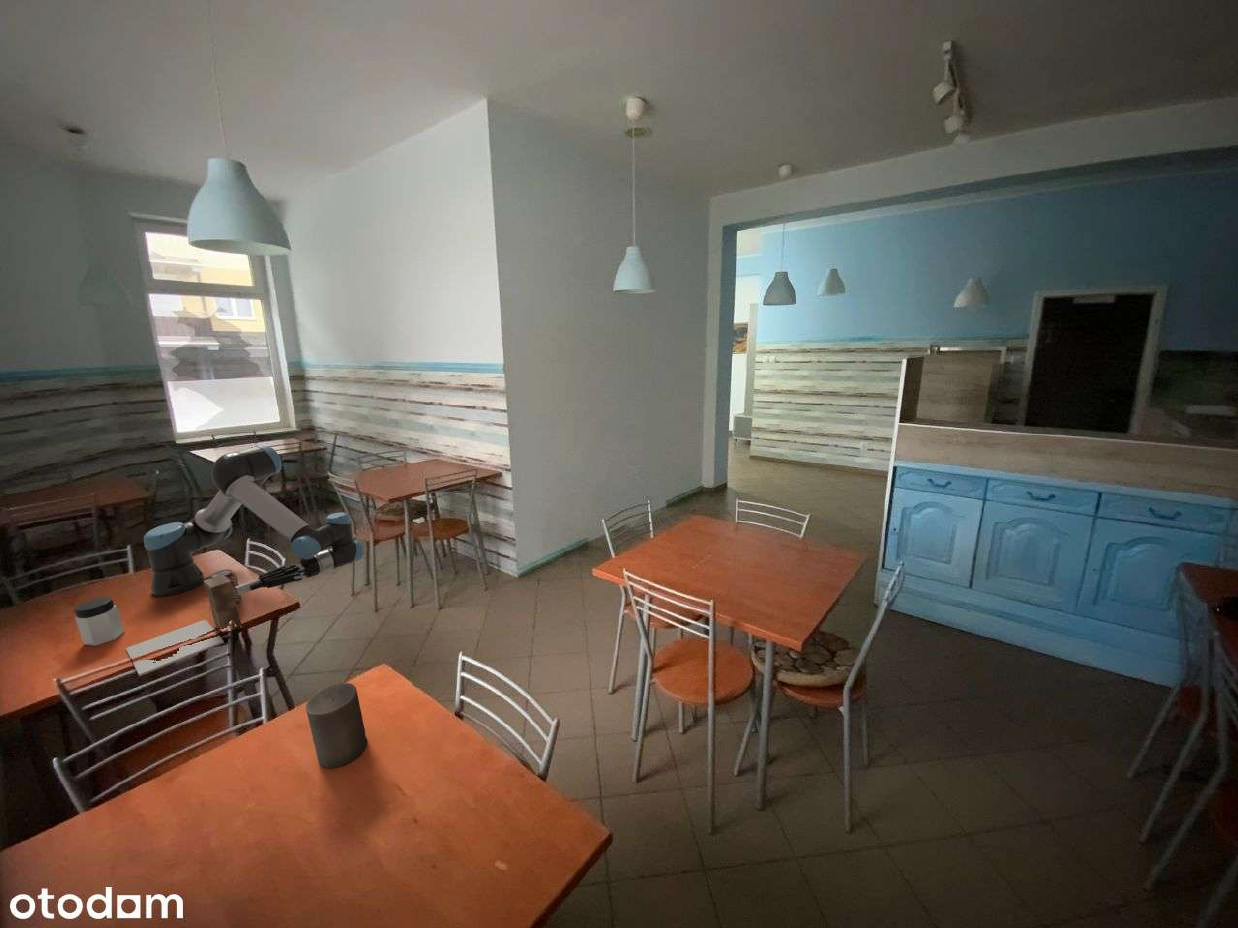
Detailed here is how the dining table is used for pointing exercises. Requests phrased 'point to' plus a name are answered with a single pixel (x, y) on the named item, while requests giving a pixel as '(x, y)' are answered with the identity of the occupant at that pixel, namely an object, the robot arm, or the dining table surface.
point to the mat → (172, 639)
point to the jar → (98, 621)
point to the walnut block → (222, 601)
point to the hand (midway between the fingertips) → (236, 590)
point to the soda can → (232, 578)
